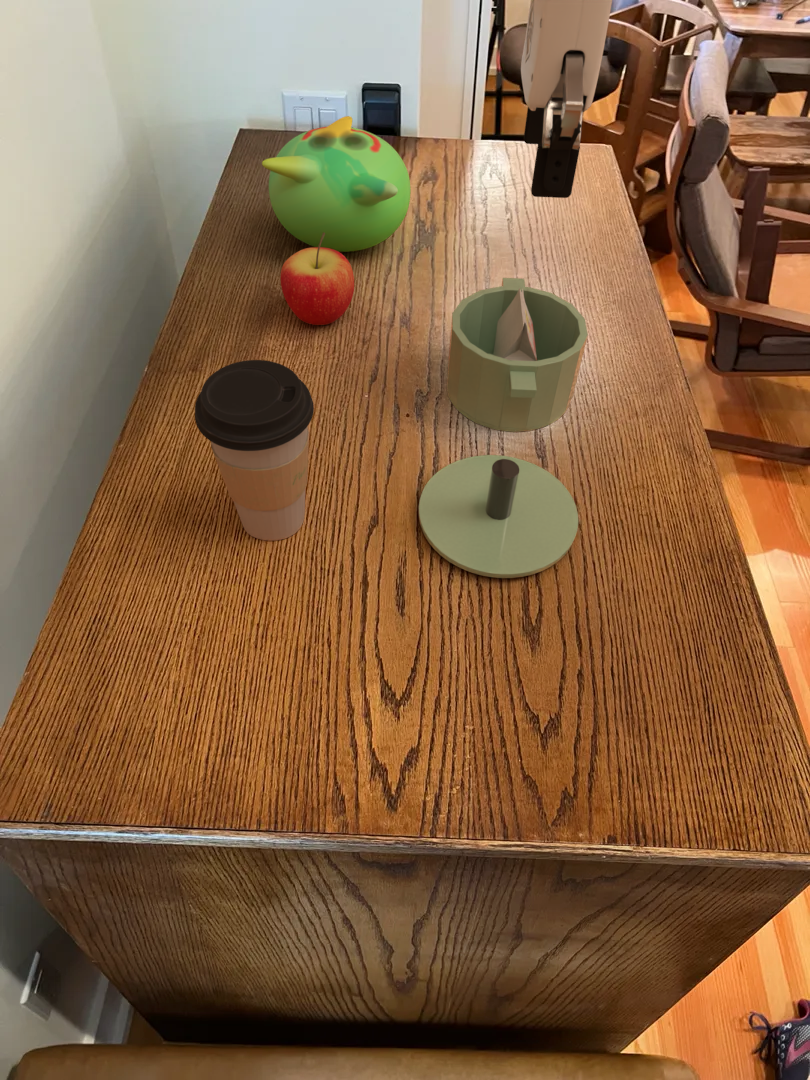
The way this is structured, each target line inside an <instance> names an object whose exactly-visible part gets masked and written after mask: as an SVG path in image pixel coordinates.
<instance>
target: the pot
mask: <svg viewBox="0 0 810 1080" xmlns="http://www.w3.org/2000/svg"><path fill="white" fill-rule="evenodd" d="M519 288H520V290H521V292H522V289H523V293H524V299H525V303H526V306H527V309H528V311H529V314H530V317H531V320H532V322H533V331H534V339H535V348H536V357H537V361H517V360H508V359H505V358H501V357H498V356H495V355H493V352H494V345H495V338H496V330H497V323H498V320H499V319H500V317H501V316H502V315H503V313H504V312H505V311H506V309H507V308H508V306H509V305H510V304H511V302H512V301H513V299H514V298H515V296H516V294H517V292H518V290H519ZM450 323H451V324H450V325H451V326H450V336H449V349H448V359H447V370H446V371H447V373H446V392H447V396H448V399H449V400H450V402H451V404H452V405H453V407H454V408H455V409H456V410H457V411H458V412H459V413H460V414H461V415H463V416H464V417H465V418H467V420H470V421H472V422H473V423H475V424H478V425H480V426H483V427H484V428H488V429H491V430H495V431H502V432H512V433H514V432H515V433H517V432H520V433H521V432H530V431H536V430H539V429H542V428H545V427H548V426H550V425H552V424H553V423H556V421H558V420H559V419H561V418H562V416H563V415H564V414H565V413H566V412H567V411H568V409H569V407H570V405H571V401H572V399H573V397H574V394H575V389H576V385H577V381H578V377H579V373H580V368H581V366H582V365H581V364H582V361H583V357H584V352H585V349H586V345H587V341H588V340H587V339H588V336H589V331H588V328H587V327H588V326H587V323H586V318H585V317H584V316H583V315H582V313H580V311H579V310H578V309H577V308H576V307H575V306H574V305H573V304H572V303H571V302H569V301H567V300H566V299H563V298H562V297H560V296H558V295H556V294H554V293H553V292H549V291H546V290H542V289H538V288H534V287H531V286H526V282H525V278H522V277H521V278H518V277H502V278H501V285H500V286H495V287H489V288H485V289H480V290H478V291H476V292H474V293H472V294H470V295H468V296H466V297H464V298H463V299H461V300H460V302H459V304H458V305H457V306H456V307H455V308H454V310H453V312H452V313H451V322H450Z"/></svg>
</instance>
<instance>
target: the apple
mask: <svg viewBox="0 0 810 1080" xmlns="http://www.w3.org/2000/svg"><path fill="white" fill-rule="evenodd" d="M324 235H325V233H324V232H323V234H322V236H321V239H320V243H319V246H318V247H314V246H311V247H307V248H302V249H301V250H298V251H297V252H295V253H293V254H292V255H290V257H288V258H287V259H286V260H285V261H284V262H283V265H282V267H281V271H280V286H281V291H282V294H283V298H284V300H285V302H286V303H287V305H288V307H289V309H290V311H292V313H293V314H294V315H295V316H296V317H297V318H298V319H299V320H300V321H302V322H304V323H306V324H309V325H315V326H323V325H324V326H325V325H329V324H332V323H334V322H335V321H337V320H338V319H340V318H341V317H342V316H343V315H344V314H345V312H347V310H348V308H349V306H350V305H351V303H352V300H353V297H354V291H355V276H354V271H353V268H352V266H351V263H350V262H349V260H348V259H347V258H346V256H345V255H344V254H343V253H342V252H338V251H336V250H334V249H330V248H323V247H320V246H321V243H322V240H323V238H324Z"/></svg>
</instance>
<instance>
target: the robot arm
mask: <svg viewBox="0 0 810 1080" xmlns="http://www.w3.org/2000/svg"><path fill="white" fill-rule="evenodd" d="M529 3H530V4H529V9H528V16H527V22H526V31H525V36H524V42H523V48H522V56H521V60H520V61H521V63H520V77H521V84H522V91H523V95H524V102H525V103H526V106H527V110H526V118H525V126H524V132H523V142H524V143H525V144H526V145H537V146H536V154H535V161H534V168H533V173H532V179H531V180H532V181H531V187H530V191H531V195H532V196H533V197H536V198H556V199H558V198H559V199H567V198H569V197H570V196H571V195H572V191H573V186H574V181H575V176H576V171H577V166H578V160H579V155H580V149H581V138H582V126H583V125H582V124H583V113H585V112H586V111H587V110H589V109H590V108H591V107H592V104H593V101H594V97H595V94H596V89H597V84H598V79H599V75H600V69H601V65H602V60H603V55H604V50H605V45H606V39H607V34H608V27H609V23H610V16H611V10H612V5H613V0H530V2H529Z"/></svg>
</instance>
